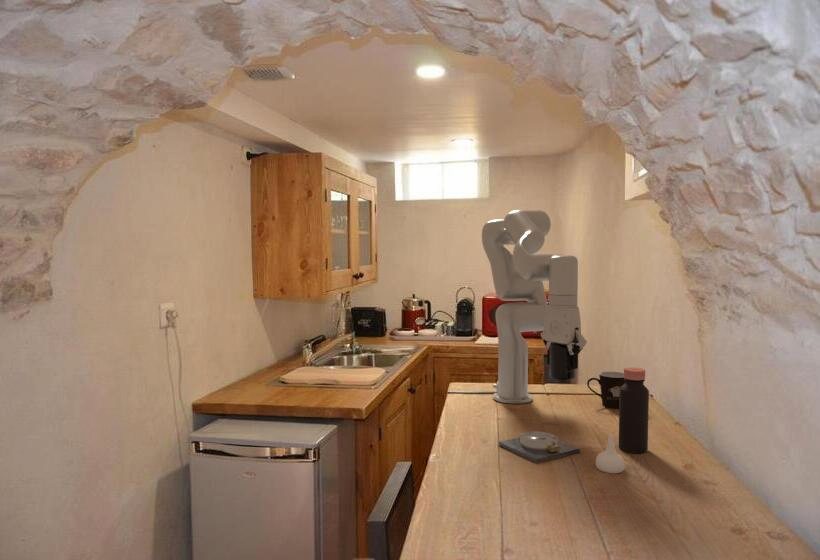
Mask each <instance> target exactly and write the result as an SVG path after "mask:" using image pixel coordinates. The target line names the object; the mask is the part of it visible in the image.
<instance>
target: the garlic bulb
mask: <svg viewBox="0 0 820 560" xmlns="http://www.w3.org/2000/svg"><path fill="white" fill-rule="evenodd" d="M614 437H615V436H614V435H612V434H608V440H607V445H606V448H605V451H602V452H600V453H599V454H597V456H596V458H595V466H596V468H597V469H598V471H601V472H603V473H607V474H621V473H622V472H623V471H624V470H625V468H626V462H625V460H624V458H623V456H622V455H620V454H619V453H617V450H616V444H615V438H614Z"/></svg>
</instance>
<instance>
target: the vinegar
mask: <svg viewBox="0 0 820 560" xmlns="http://www.w3.org/2000/svg"><path fill="white" fill-rule="evenodd" d="M623 373H624V380H625V384H624V385H623V386H621V388H620V397H619V409H618V448H619V449H620V450H621V451H623V452H625V453H630V454H644V453H646V452H648V448H649V444H648V443H649V408H650V407H649V406H650V405H649V404H650V403H649V400H650V390H649V389H648V388H647V386H645V385H644V383H645V381H646V370H645V369H644V368H641V367H640V368H639V367H625V368H624V369H623Z"/></svg>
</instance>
